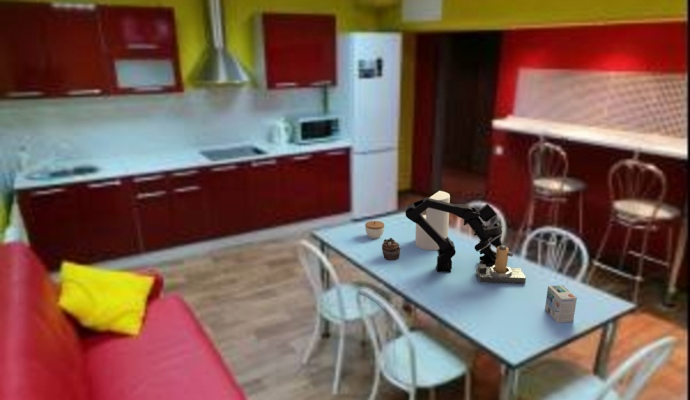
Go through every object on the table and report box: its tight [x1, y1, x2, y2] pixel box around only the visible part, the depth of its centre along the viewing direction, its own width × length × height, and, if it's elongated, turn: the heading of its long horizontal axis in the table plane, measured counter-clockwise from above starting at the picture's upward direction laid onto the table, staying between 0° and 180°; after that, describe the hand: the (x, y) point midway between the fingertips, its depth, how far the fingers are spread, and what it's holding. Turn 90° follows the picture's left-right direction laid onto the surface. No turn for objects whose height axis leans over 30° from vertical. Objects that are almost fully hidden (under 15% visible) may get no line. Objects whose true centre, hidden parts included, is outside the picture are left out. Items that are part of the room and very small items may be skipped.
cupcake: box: [381, 237, 402, 261], centre depth 244 cm, size 10×10×10 cm
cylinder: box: [414, 190, 451, 251], centre depth 256 cm, size 17×17×28 cm
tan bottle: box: [495, 244, 514, 273], centre depth 218 cm, size 7×5×13 cm
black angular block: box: [478, 249, 496, 267], centre depth 235 cm, size 10×7×7 cm
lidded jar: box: [364, 220, 385, 240], centre depth 270 cm, size 11×11×9 cm
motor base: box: [475, 263, 527, 285], centre depth 220 cm, size 20×10×5 cm, turn 85°
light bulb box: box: [544, 284, 578, 324], centre depth 189 cm, size 11×7×11 cm, turn 5°
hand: (499, 255), depth 218 cm, fingers open, 9 cm apart
